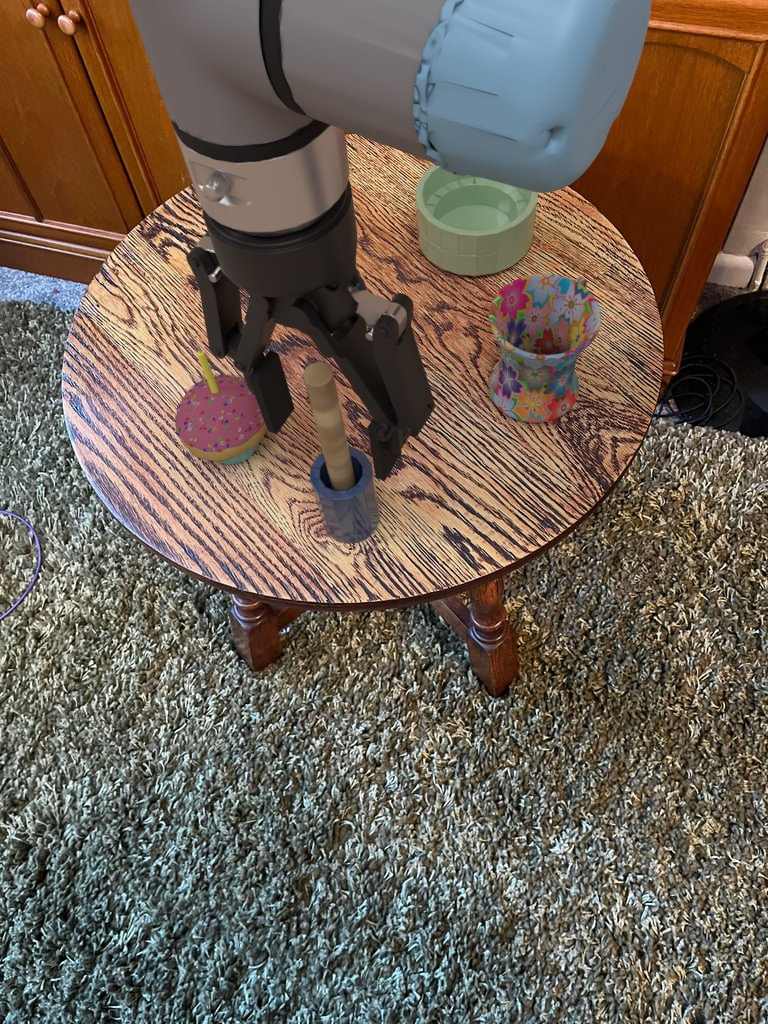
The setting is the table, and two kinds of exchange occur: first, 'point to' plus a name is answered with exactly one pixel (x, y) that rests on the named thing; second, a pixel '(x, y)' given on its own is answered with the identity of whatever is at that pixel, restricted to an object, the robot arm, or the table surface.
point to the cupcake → (219, 418)
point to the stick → (329, 424)
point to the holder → (347, 500)
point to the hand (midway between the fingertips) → (333, 441)
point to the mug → (540, 344)
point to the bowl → (472, 222)
